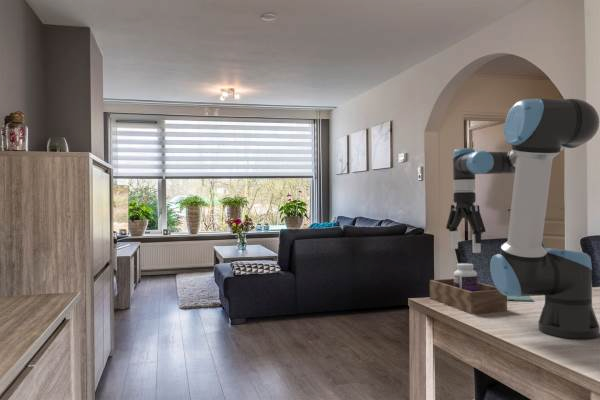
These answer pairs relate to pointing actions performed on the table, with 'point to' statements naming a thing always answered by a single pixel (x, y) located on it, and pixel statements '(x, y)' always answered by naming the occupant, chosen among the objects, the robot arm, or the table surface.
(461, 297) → the crate
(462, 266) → the pill bottle
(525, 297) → the mat
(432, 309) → the table surface
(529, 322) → the table surface
